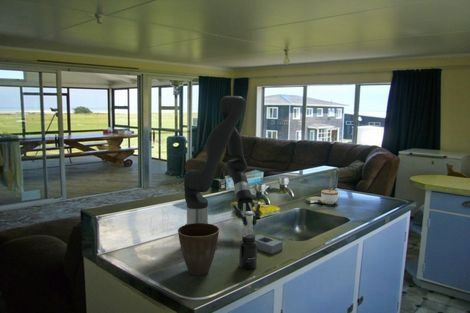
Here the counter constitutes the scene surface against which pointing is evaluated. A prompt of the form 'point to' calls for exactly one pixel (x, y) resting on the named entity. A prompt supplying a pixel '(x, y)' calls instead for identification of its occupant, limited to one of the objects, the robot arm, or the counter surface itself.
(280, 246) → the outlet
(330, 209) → the counter surface
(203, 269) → the plant pot
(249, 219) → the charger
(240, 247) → the supplement bottle
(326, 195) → the lidded jar
